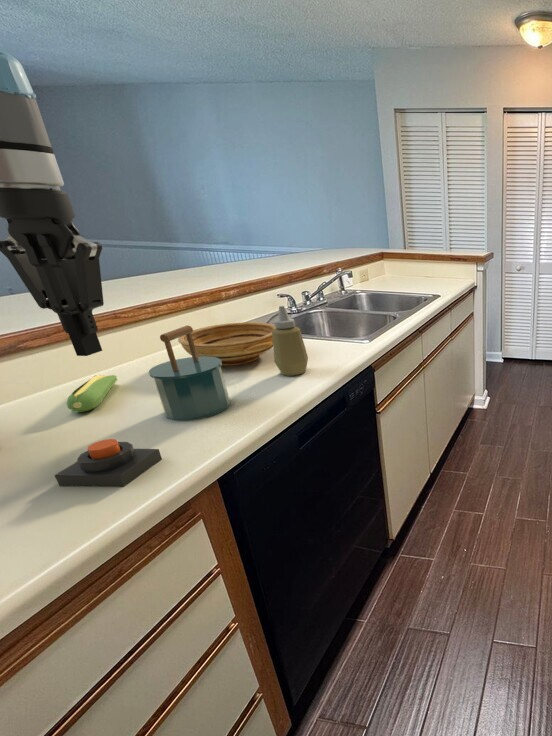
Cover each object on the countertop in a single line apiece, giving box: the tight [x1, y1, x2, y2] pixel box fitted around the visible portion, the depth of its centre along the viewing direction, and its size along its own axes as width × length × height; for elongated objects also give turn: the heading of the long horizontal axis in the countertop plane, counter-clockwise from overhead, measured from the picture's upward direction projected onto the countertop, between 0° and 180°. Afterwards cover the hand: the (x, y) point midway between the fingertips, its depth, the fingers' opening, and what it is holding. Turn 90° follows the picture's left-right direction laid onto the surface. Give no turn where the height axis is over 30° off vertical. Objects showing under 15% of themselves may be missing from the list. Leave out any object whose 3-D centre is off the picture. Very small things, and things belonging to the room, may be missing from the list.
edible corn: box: [66, 374, 118, 413], centre depth 95 cm, size 5×20×5 cm, turn 27°
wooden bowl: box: [177, 321, 276, 366], centre depth 121 cm, size 30×24×8 cm
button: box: [87, 438, 121, 459], centre depth 68 cm, size 4×4×2 cm
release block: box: [54, 441, 163, 488], centre depth 69 cm, size 10×8×4 cm
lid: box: [148, 325, 223, 379], centre depth 87 cm, size 12×12×9 cm
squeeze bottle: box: [272, 305, 309, 377], centre depth 110 cm, size 8×8×18 cm
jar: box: [152, 366, 231, 422], centre depth 90 cm, size 11×11×10 cm
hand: (89, 353), depth 66 cm, fingers closed
